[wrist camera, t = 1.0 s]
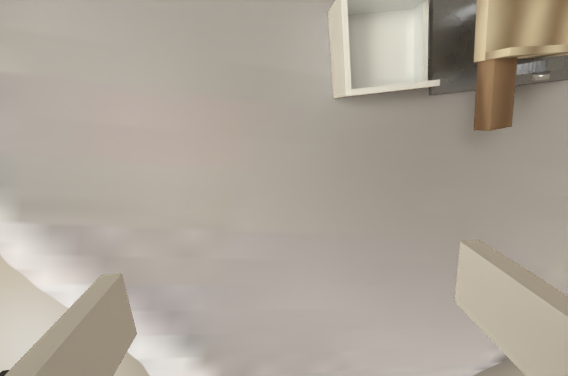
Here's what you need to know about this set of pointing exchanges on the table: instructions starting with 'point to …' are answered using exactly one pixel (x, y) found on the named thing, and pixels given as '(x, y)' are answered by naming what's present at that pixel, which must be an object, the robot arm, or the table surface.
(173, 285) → the table surface
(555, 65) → the stand
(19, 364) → the robot arm
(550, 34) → the lever
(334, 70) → the white open box
